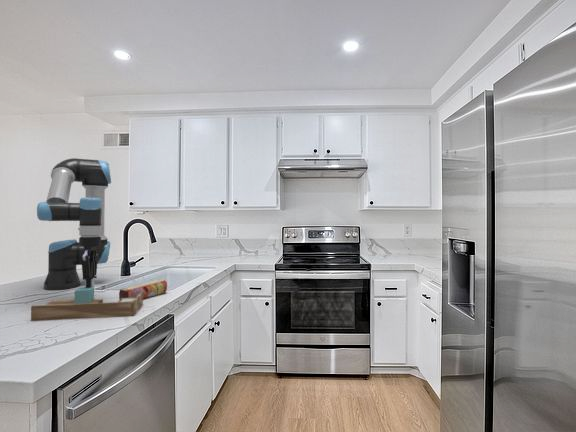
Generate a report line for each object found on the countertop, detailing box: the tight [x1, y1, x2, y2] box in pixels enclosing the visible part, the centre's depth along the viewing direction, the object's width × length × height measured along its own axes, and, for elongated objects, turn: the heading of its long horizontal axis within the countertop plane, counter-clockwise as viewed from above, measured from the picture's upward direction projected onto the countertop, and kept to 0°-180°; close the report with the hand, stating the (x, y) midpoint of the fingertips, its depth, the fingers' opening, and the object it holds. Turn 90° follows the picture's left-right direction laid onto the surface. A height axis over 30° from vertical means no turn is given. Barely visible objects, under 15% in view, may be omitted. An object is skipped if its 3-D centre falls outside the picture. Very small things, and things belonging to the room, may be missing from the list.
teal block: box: [74, 286, 95, 304], centre depth 126 cm, size 5×5×5 cm
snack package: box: [118, 278, 168, 301], centre depth 145 cm, size 21×7×7 cm, turn 153°
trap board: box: [30, 292, 144, 322], centre depth 123 cm, size 15×33×5 cm, turn 102°
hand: (89, 295), depth 129 cm, fingers closed
